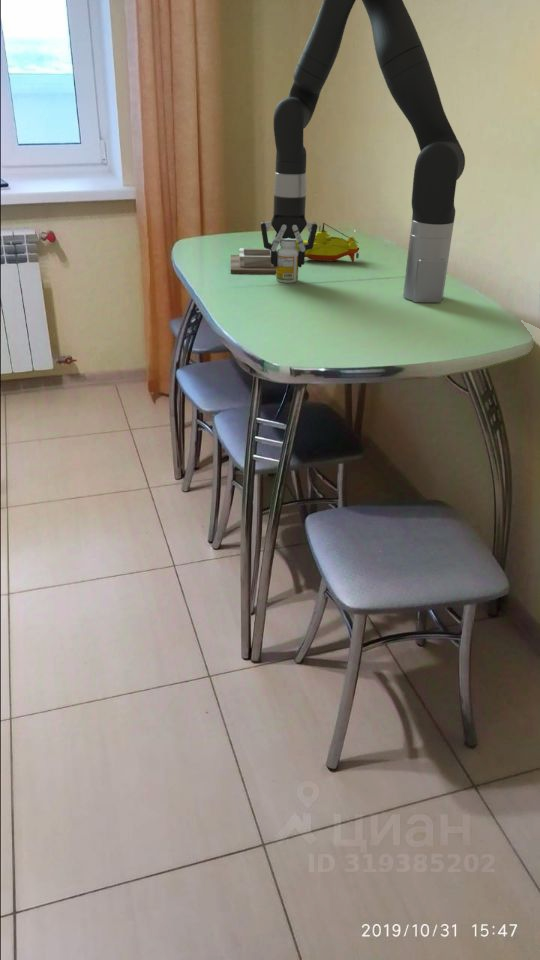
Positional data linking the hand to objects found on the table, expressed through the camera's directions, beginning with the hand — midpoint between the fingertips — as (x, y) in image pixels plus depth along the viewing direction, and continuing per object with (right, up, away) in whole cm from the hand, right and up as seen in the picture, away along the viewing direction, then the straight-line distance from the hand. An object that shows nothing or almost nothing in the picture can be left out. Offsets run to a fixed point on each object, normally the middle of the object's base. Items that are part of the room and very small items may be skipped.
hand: (287, 266), depth 177 cm
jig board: (-8, +4, +13) cm, 16 cm away
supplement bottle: (0, -3, +2) cm, 4 cm away
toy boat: (+11, +7, +21) cm, 24 cm away
